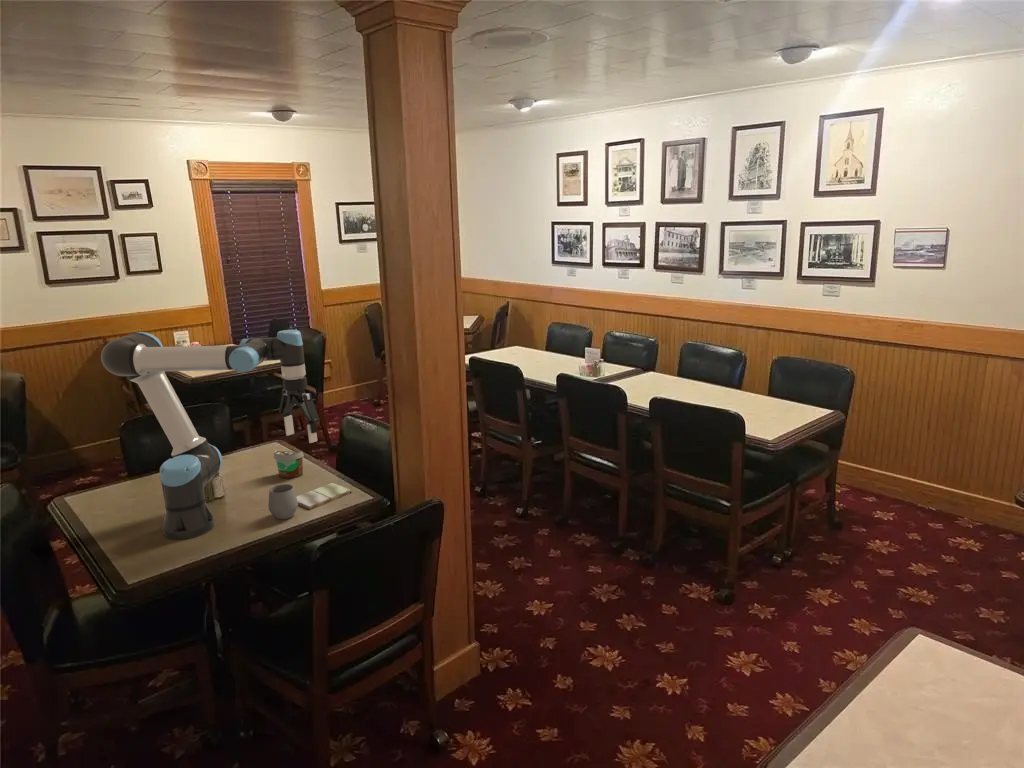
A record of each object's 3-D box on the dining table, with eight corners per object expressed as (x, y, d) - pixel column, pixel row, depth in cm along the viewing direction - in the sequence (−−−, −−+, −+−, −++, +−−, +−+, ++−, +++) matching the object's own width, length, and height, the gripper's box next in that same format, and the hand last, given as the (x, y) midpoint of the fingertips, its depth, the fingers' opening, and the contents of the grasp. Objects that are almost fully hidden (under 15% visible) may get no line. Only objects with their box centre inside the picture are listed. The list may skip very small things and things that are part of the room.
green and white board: (310, 509, 228) (309, 506, 227) (289, 501, 235) (289, 498, 235) (352, 492, 241) (352, 489, 241) (331, 485, 249) (331, 482, 248)
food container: (269, 478, 256) (266, 454, 254) (278, 472, 262) (276, 448, 260) (296, 481, 253) (294, 456, 250) (306, 475, 259) (303, 451, 256)
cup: (303, 510, 228) (300, 483, 225) (292, 522, 219) (289, 494, 216) (277, 509, 228) (274, 482, 226) (264, 521, 219) (261, 493, 217)
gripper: (326, 379, 214) (333, 441, 219) (283, 370, 229) (290, 428, 235) (306, 384, 208) (313, 448, 214) (263, 374, 224) (271, 434, 229)
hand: (301, 438), depth 224 cm, fingers open, 13 cm apart
